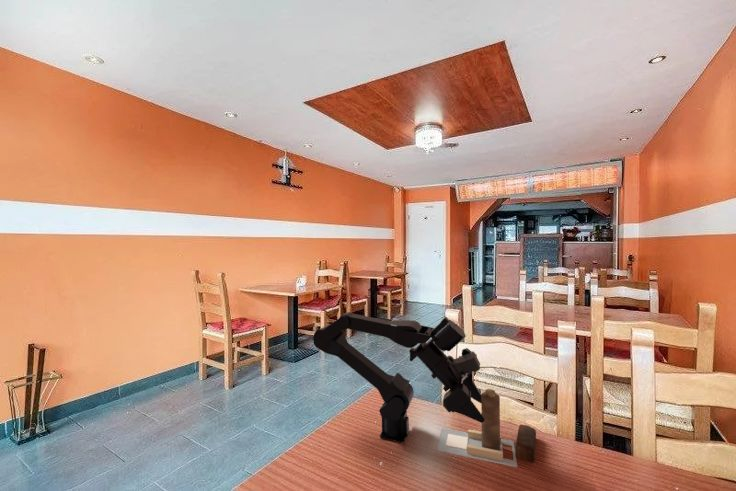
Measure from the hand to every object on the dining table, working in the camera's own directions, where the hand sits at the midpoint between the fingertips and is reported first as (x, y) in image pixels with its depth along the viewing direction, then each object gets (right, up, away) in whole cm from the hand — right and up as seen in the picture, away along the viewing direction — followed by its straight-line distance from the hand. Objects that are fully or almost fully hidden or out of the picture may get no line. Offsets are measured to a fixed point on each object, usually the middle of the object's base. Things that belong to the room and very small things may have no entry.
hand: (483, 411), depth 79 cm
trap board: (-2, -10, +1) cm, 10 cm away
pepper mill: (+2, -9, 0) cm, 9 cm away
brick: (+11, -10, 0) cm, 15 cm away
